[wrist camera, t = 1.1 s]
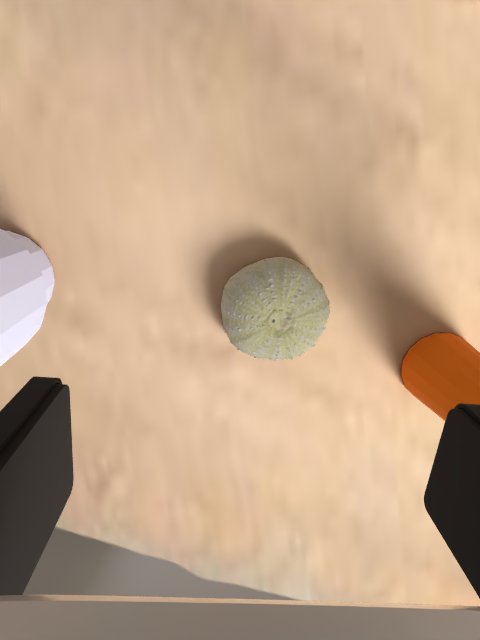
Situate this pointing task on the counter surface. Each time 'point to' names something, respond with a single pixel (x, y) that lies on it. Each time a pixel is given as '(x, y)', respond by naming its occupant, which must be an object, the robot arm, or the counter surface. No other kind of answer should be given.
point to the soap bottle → (22, 291)
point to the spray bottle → (442, 372)
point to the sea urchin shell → (274, 309)
